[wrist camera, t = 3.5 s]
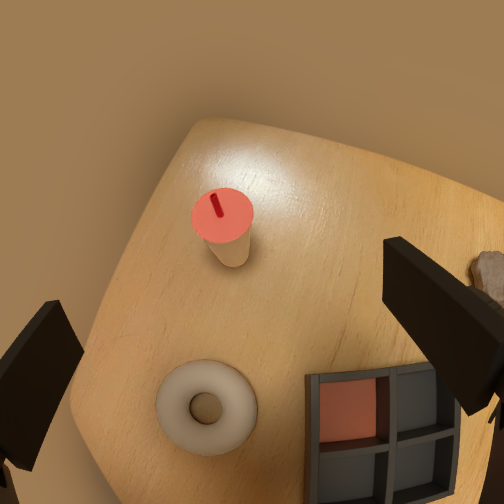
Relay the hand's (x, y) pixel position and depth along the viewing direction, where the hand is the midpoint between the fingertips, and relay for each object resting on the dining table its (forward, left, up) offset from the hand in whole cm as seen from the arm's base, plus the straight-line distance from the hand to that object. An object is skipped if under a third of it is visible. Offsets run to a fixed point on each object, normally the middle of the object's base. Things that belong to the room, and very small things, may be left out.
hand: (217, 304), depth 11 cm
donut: (-4, -6, -21) cm, 23 cm away
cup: (-2, +11, -21) cm, 24 cm away
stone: (+31, +5, -21) cm, 38 cm away
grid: (+13, -10, -21) cm, 27 cm away
